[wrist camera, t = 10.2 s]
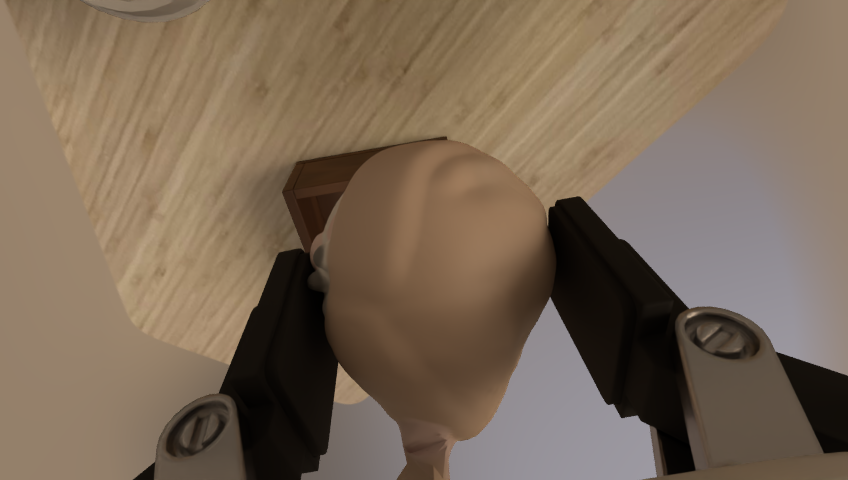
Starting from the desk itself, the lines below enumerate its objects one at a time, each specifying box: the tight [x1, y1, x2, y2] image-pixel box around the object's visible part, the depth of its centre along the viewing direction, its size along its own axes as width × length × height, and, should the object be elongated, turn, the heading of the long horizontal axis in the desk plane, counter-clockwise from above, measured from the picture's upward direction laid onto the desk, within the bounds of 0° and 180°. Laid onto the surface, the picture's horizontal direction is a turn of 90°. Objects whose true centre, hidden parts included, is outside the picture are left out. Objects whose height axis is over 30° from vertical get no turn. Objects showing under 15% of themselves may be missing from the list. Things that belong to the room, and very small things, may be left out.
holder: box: [282, 137, 447, 253], centre depth 34 cm, size 13×13×6 cm
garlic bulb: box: [307, 140, 557, 480], centre depth 10 cm, size 7×6×8 cm
